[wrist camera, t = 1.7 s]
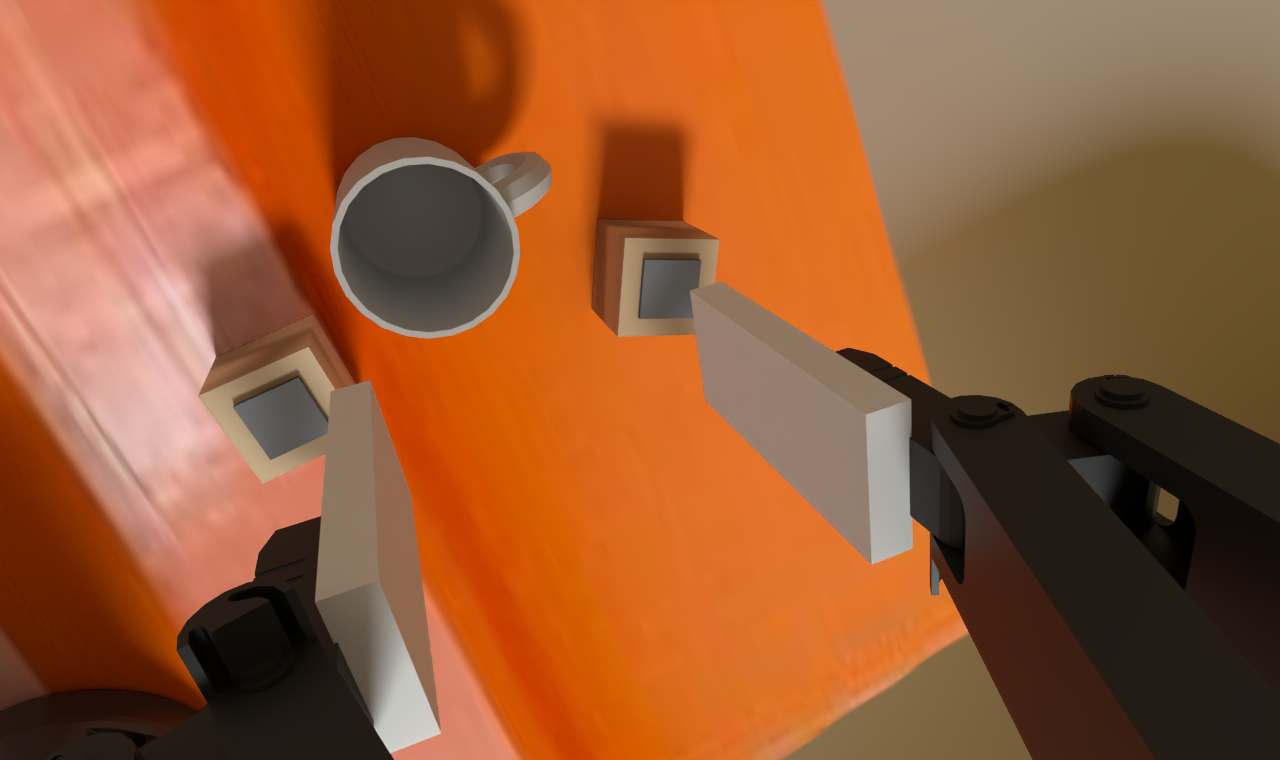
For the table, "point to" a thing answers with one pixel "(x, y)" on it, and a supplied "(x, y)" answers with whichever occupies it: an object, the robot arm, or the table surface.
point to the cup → (431, 233)
